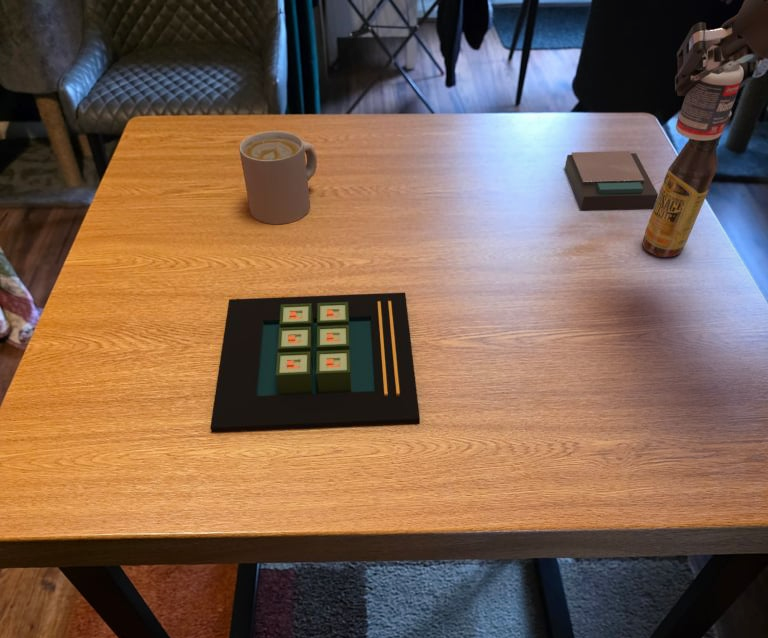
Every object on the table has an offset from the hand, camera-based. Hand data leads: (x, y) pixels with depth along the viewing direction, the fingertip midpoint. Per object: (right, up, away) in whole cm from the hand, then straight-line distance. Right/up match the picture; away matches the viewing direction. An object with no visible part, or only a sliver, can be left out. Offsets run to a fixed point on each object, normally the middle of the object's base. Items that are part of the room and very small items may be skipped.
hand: (705, 84), depth 74 cm
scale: (+2, +7, +37) cm, 38 cm away
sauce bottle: (+6, -8, +27) cm, 29 cm away
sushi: (-45, -28, +12) cm, 55 cm away
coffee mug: (-52, +3, +35) cm, 63 cm away
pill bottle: (0, -4, +2) cm, 5 cm away
